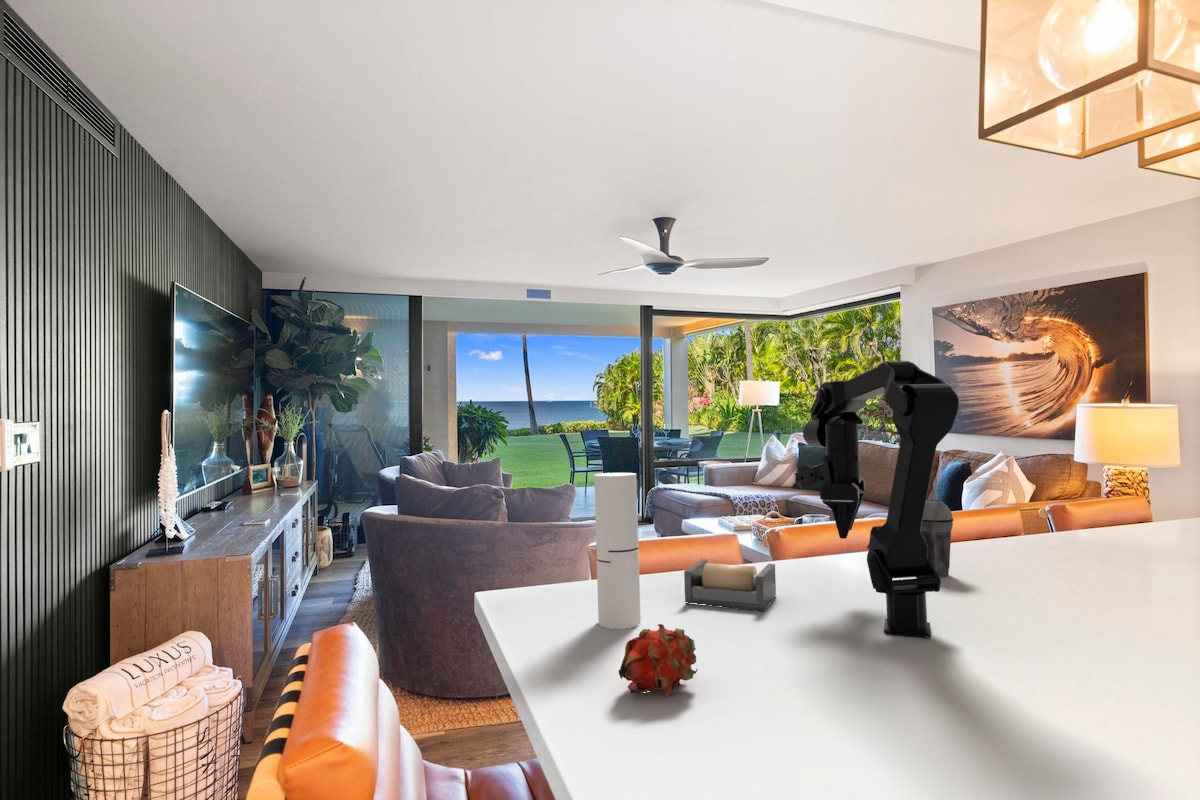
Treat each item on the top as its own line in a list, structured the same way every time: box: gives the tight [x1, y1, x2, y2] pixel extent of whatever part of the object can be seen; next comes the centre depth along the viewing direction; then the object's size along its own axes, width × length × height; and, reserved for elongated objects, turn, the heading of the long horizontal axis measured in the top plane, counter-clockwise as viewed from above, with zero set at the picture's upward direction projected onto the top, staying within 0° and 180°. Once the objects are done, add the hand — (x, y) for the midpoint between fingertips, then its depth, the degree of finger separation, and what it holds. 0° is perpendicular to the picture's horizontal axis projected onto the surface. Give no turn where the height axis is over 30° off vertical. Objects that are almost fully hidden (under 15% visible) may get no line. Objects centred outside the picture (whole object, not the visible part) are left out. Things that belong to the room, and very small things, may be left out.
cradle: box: [683, 558, 777, 612], centre depth 124 cm, size 14×11×6 cm
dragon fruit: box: [617, 623, 698, 696], centre depth 84 cm, size 8×8×12 cm
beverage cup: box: [921, 478, 954, 578], centre depth 139 cm, size 7×7×20 cm
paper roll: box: [702, 562, 758, 591], centre depth 124 cm, size 10×6×6 cm, turn 64°
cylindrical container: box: [593, 472, 642, 630], centre depth 112 cm, size 7×7×25 cm
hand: (845, 534), depth 122 cm, fingers open, 9 cm apart
